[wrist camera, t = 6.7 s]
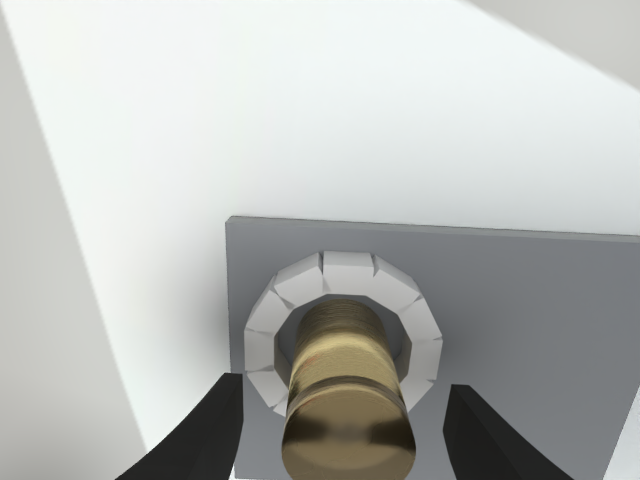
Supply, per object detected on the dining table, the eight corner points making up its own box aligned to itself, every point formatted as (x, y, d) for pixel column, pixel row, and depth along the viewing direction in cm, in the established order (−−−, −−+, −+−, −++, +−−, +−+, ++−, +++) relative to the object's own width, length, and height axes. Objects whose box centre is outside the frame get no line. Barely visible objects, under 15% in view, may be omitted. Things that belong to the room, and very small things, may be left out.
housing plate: (672, 237, 16) (732, 259, 14) (583, 478, 21) (616, 526, 18) (231, 216, 16) (214, 234, 14) (239, 461, 21) (227, 506, 18)
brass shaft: (387, 298, 16) (421, 399, 10) (383, 375, 17) (411, 502, 12) (295, 298, 16) (278, 398, 10) (297, 375, 17) (283, 501, 12)
